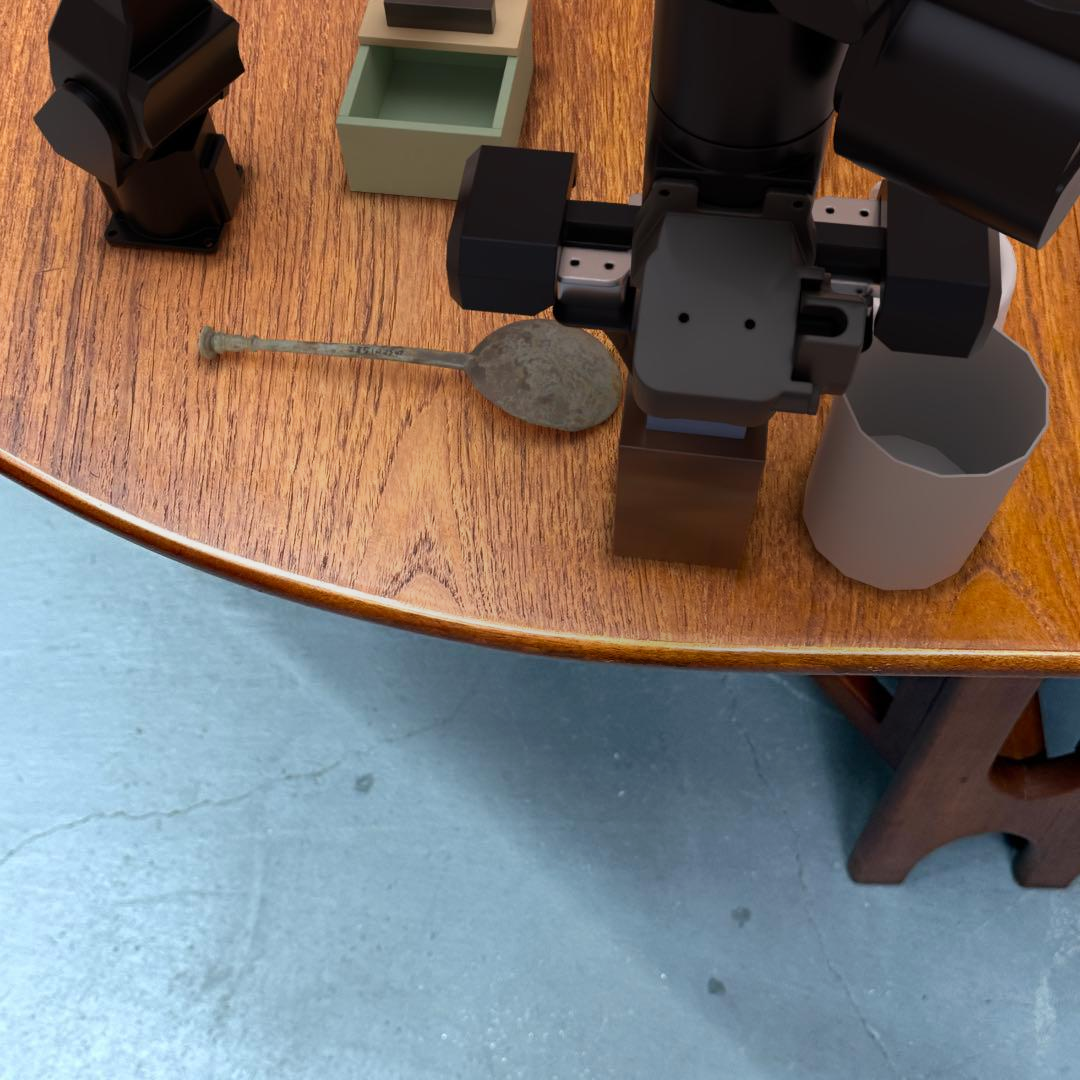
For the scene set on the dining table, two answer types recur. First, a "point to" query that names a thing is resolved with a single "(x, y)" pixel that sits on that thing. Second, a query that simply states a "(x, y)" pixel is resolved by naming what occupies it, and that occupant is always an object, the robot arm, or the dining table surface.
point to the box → (429, 115)
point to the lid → (446, 25)
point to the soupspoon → (493, 368)
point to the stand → (684, 491)
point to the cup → (921, 459)
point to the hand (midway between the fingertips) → (698, 386)
